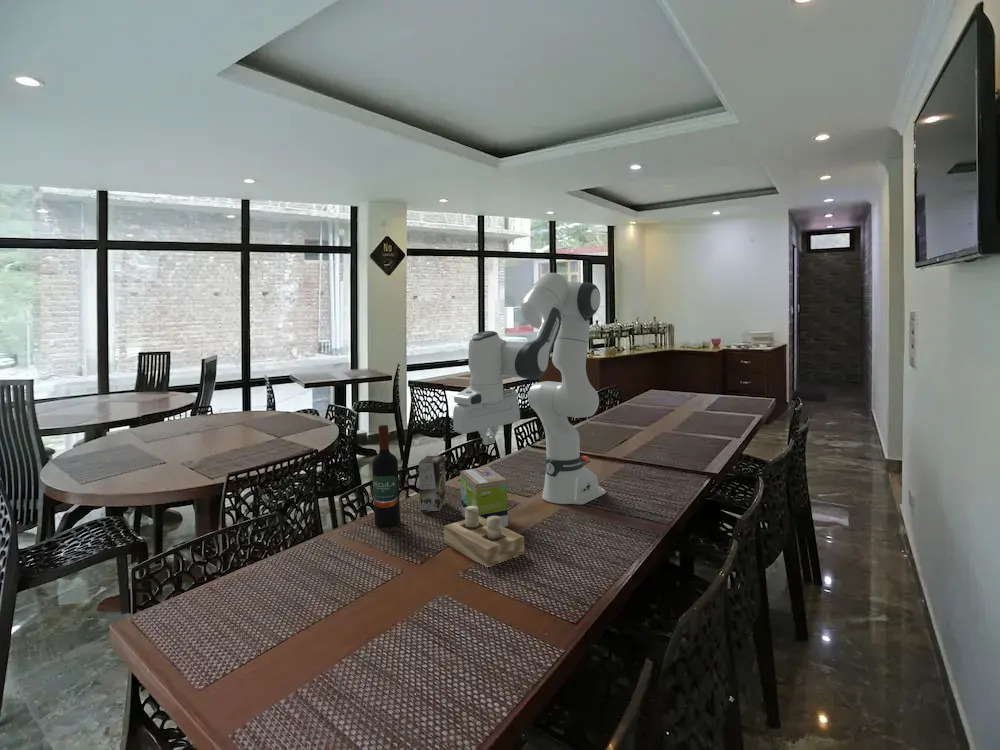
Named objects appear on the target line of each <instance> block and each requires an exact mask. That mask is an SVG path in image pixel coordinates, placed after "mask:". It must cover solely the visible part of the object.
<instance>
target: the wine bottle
mask: <svg viewBox="0 0 1000 750" xmlns="http://www.w3.org/2000/svg"><path fill="white" fill-rule="evenodd" d="M378 440H379V441H378V442H379V443H378V444H379V452H378V453H377V454H376V455H375V456H374V457H373V459H372V462H371V467H372V471H371V473H372V488H373V489H372V490H373V491H372V492H373V510H374V525H375V527H377V528H381V529H383V528H384V529H387V527H389V528H394V527H396V525H397V526H398V524H399V523H400V524H401V508H400V507H401V506H400V505H401V504H400V486H399V485H400V482H399V461H398V458H397V457H396V456H395V454H393V453H392V452H391V451H390V443H389V441H390V439H389V425H388V424H380V425H378ZM400 524H399V525H400ZM393 526H394V527H393Z"/></svg>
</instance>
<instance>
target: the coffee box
mask: <svg viewBox="0 0 1000 750" xmlns="http://www.w3.org/2000/svg"><path fill="white" fill-rule="evenodd" d="M446 482H447V481H446V456H445V455H426V456H425V457H424V458H422V459H421V460H420V461H418V485H419V510H429V511H428V512H430V511H439V512H440V511H441V510H442V508H443V507H444V506H445V505H446V504H447V491H446V490H447V487H446V485H447V484H446ZM445 503H446V504H445ZM444 504H445V505H444ZM443 505H444V506H443ZM442 506H443V507H442ZM441 507H442V508H441Z"/></svg>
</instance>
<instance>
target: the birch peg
mask: <svg viewBox="0 0 1000 750" xmlns="http://www.w3.org/2000/svg"><path fill="white" fill-rule="evenodd" d="M487 537H488V540H489V541H491V542H495V541H498V540H501V517H499V516H490V517H488V518H487Z"/></svg>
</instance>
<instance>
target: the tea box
mask: <svg viewBox="0 0 1000 750" xmlns="http://www.w3.org/2000/svg"><path fill="white" fill-rule="evenodd" d="M459 478H460V501H461V507H460V508H461V514H462V515H461V516H463V518H465V508H466V507H468V506H477V507H478V516H481V517H483V518H486V519H487V518H488V517H490V516H499V517H501V526H503V527H505V528H507V527H508V526H509V514H508V513H509V511H508V510H509V509H508V506H509V505H508V479H506V478H505V477H504V476H502V475H501V474H500V473H498V472H496V471H495V470H494V469H492V468H491V467H490V466H484V467H483V466H482V467H478V468H471V469H464V470H459Z"/></svg>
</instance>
